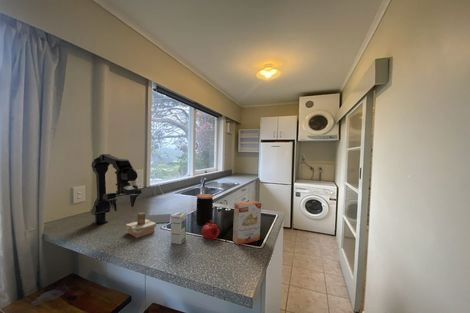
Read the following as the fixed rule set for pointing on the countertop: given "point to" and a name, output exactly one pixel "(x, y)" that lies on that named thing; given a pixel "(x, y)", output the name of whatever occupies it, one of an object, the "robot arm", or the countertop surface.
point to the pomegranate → (210, 231)
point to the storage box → (141, 232)
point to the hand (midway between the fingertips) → (124, 209)
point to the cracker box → (246, 222)
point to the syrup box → (178, 227)
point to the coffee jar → (204, 209)
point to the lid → (140, 224)
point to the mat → (159, 218)
